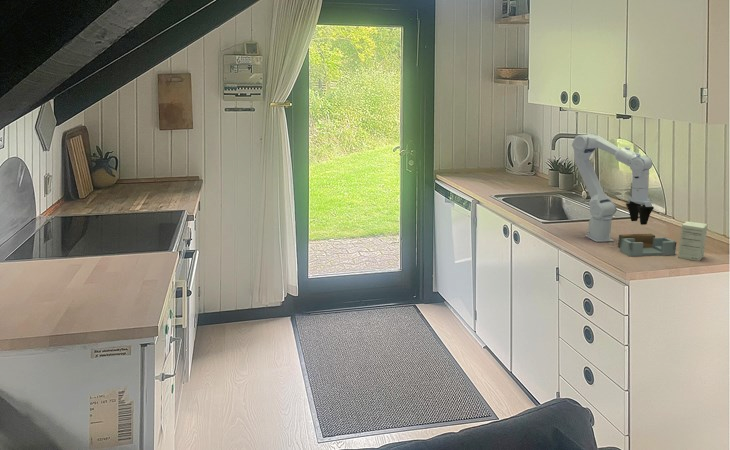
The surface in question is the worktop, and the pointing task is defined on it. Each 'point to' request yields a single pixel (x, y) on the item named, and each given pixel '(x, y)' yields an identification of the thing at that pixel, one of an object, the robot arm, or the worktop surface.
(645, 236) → the tan brown long block
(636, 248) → the green tray
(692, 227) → the supplement box
